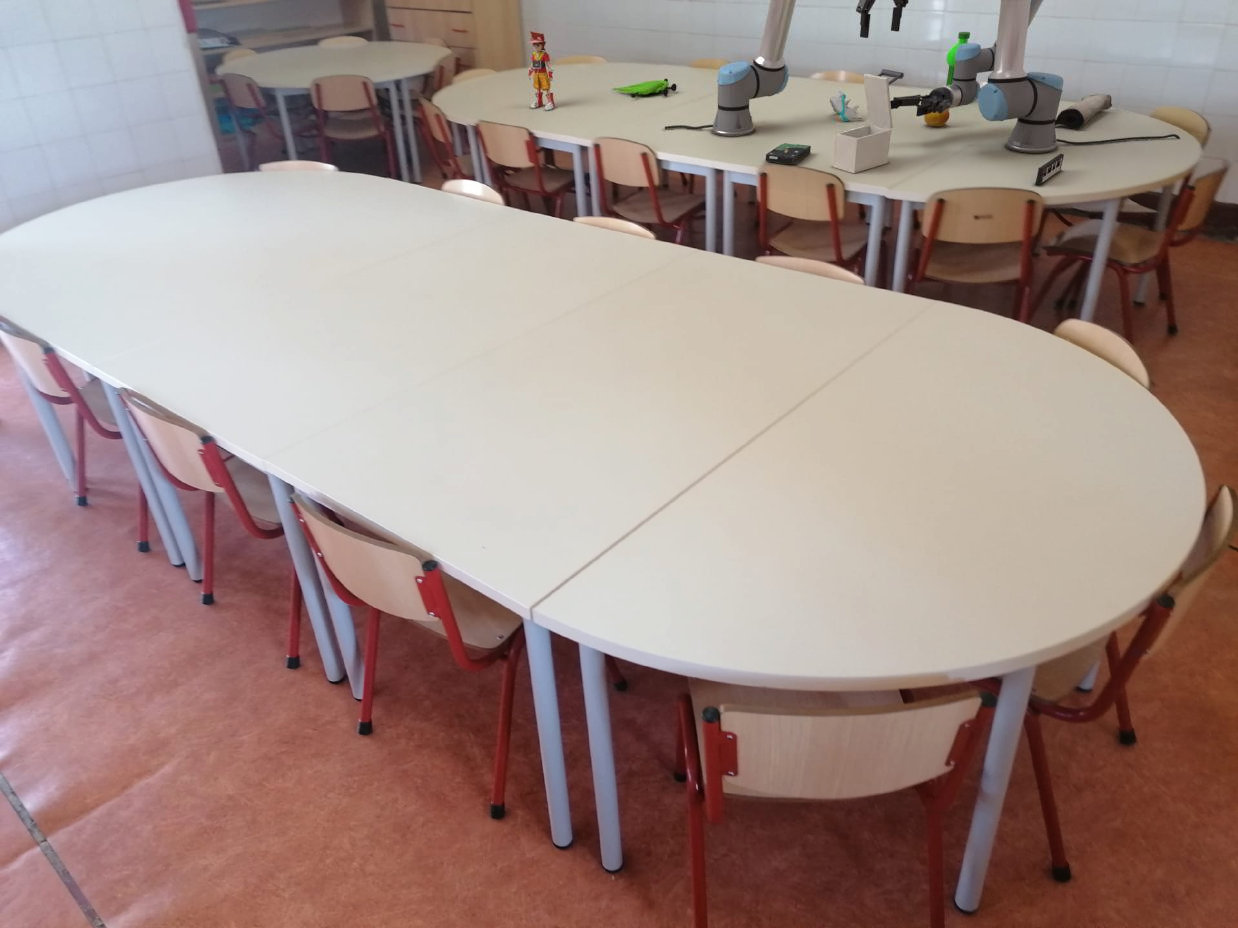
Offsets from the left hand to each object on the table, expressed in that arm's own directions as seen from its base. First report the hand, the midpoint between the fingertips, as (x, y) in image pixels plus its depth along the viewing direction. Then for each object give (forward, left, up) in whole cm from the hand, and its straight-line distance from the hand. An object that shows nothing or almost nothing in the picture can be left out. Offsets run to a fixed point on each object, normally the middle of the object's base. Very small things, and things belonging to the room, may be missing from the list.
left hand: (879, 34), depth 274 cm
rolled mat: (+55, +77, -39) cm, 103 cm away
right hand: (+6, +14, -25) cm, 29 cm away
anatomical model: (-26, +53, -39) cm, 71 cm away
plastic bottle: (+7, +89, -39) cm, 97 cm away
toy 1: (-150, +29, -39) cm, 158 cm away
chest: (-1, -3, -39) cm, 39 cm away
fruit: (+9, +52, -39) cm, 66 cm away
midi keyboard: (+55, +4, -39) cm, 68 cm away
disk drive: (-26, -4, -39) cm, 47 cm away
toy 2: (-123, +67, -39) cm, 145 cm away
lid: (+1, +2, -20) cm, 20 cm away
